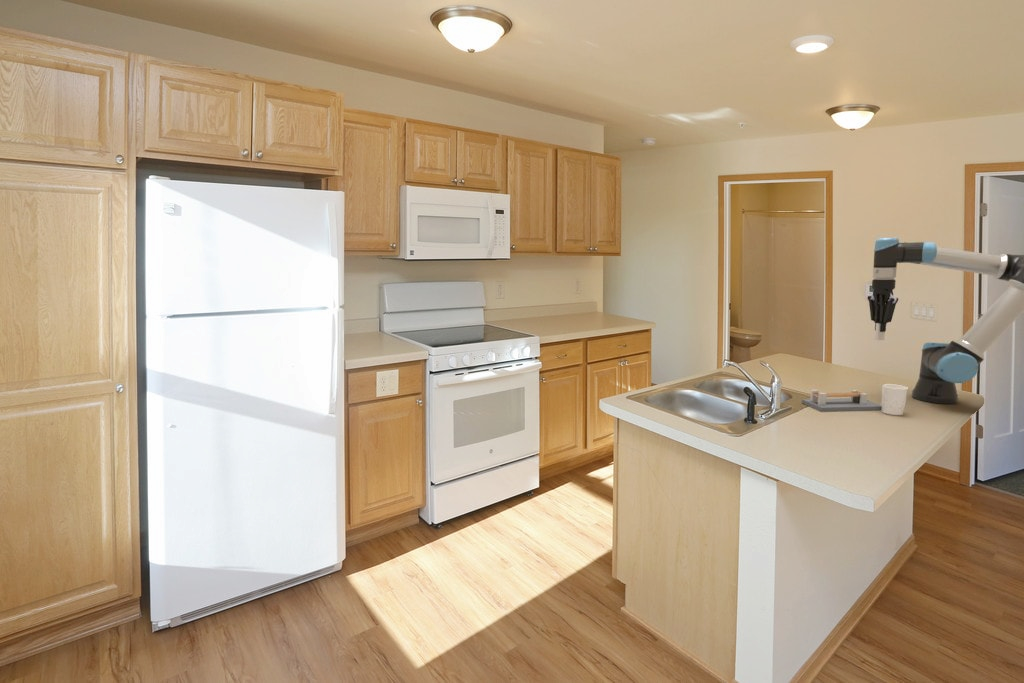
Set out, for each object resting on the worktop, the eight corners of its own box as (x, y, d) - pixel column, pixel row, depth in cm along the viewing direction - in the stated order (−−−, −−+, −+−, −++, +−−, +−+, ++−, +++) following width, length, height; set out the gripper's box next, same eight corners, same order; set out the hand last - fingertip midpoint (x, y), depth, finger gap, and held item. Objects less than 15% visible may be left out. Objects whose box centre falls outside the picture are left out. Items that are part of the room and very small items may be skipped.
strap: (859, 394, 223) (860, 391, 222) (865, 396, 219) (865, 393, 219) (813, 396, 221) (813, 393, 220) (818, 398, 218) (818, 395, 217)
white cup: (908, 416, 208) (912, 389, 207) (884, 415, 210) (887, 388, 208) (899, 410, 216) (902, 384, 214) (875, 409, 217) (878, 383, 216)
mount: (861, 401, 228) (863, 386, 227) (883, 410, 216) (885, 394, 215) (801, 402, 225) (803, 387, 224) (821, 411, 214) (822, 395, 213)
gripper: (862, 278, 227) (858, 337, 230) (888, 279, 214) (883, 342, 217) (879, 277, 228) (875, 337, 231) (906, 279, 215) (901, 341, 218)
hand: (879, 339), depth 224 cm, fingers closed
